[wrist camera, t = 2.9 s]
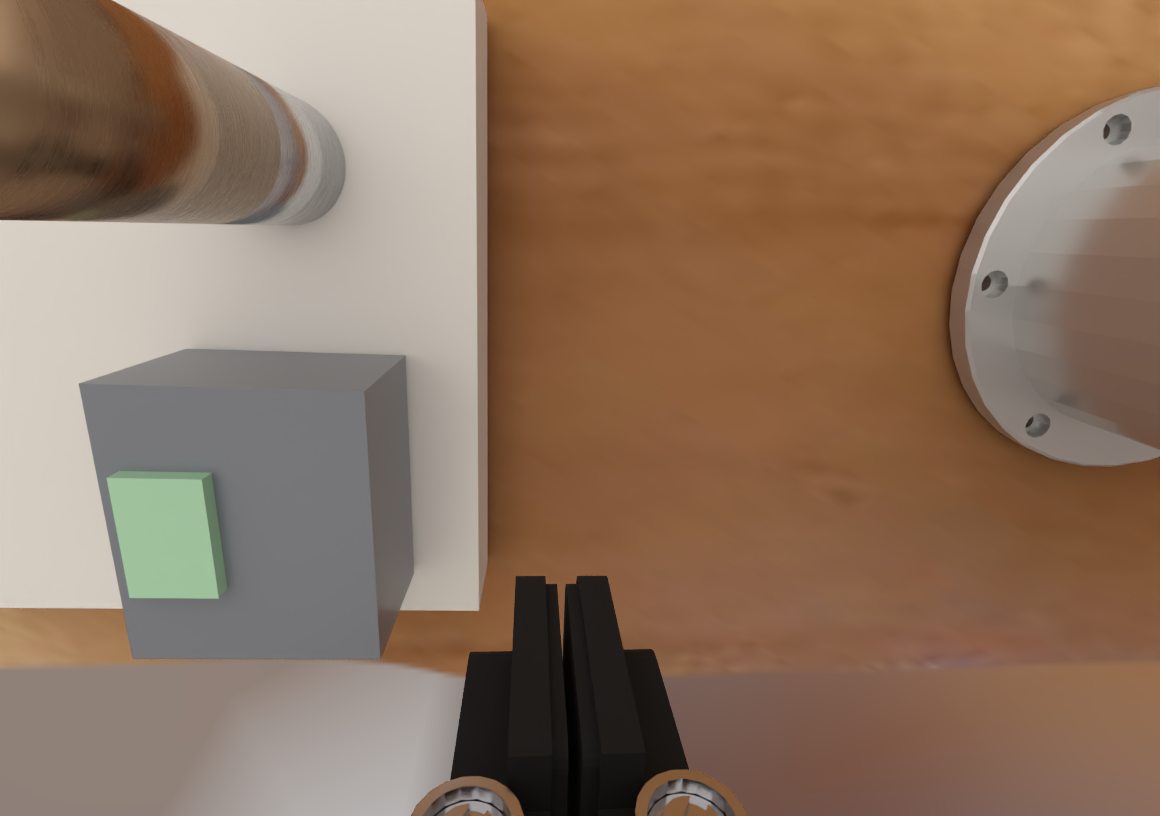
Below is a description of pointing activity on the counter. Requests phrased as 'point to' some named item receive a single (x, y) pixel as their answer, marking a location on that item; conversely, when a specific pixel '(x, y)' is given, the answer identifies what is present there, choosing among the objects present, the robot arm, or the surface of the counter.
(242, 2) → the white flat rectangular board
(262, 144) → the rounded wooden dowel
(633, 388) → the counter surface
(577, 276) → the counter surface
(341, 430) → the block
